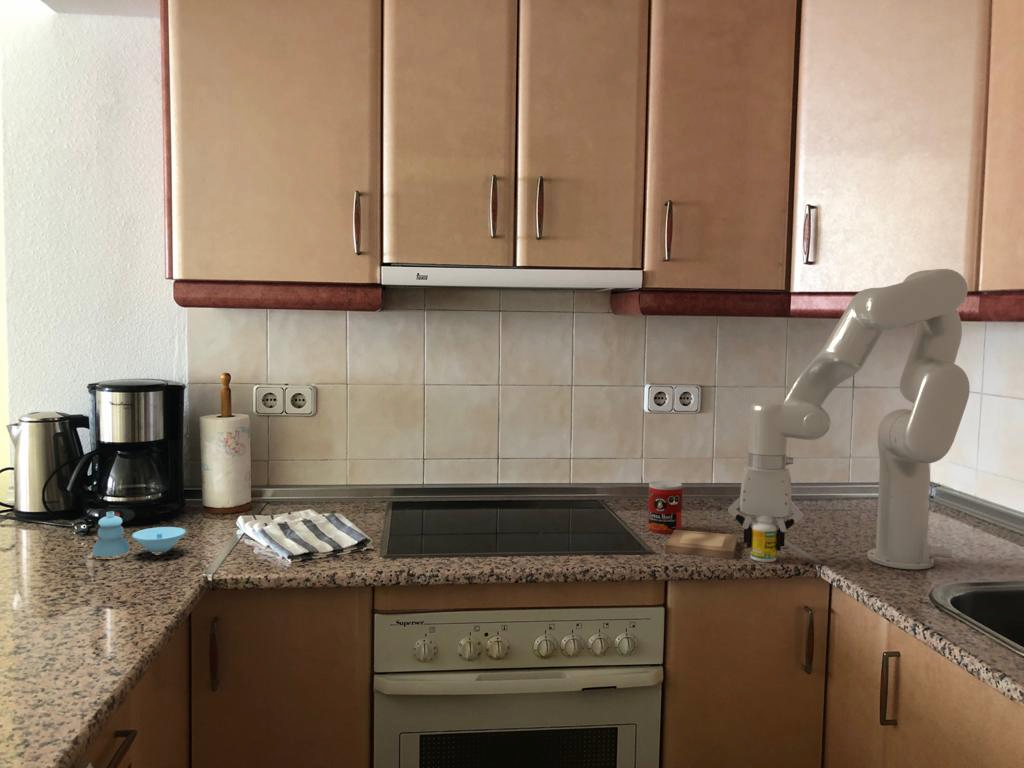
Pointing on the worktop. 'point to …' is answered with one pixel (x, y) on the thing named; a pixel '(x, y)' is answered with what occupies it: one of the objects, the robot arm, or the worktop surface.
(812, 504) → the worktop surface
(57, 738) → the worktop surface
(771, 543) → the supplement bottle
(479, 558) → the worktop surface
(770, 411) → the robot arm
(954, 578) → the worktop surface
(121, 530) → the light blue rounded pieces
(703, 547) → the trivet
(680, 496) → the canned food
